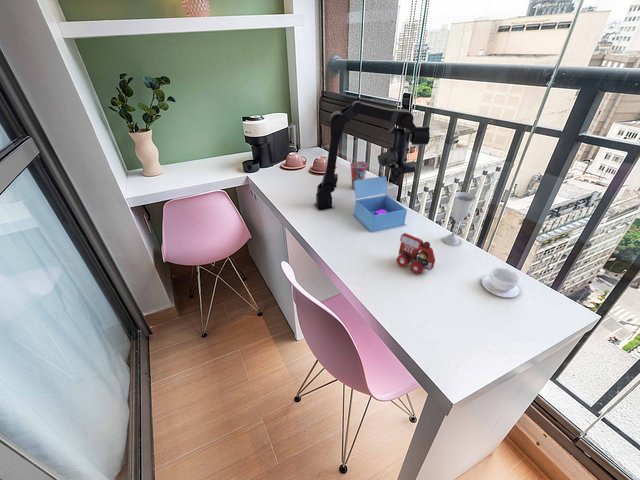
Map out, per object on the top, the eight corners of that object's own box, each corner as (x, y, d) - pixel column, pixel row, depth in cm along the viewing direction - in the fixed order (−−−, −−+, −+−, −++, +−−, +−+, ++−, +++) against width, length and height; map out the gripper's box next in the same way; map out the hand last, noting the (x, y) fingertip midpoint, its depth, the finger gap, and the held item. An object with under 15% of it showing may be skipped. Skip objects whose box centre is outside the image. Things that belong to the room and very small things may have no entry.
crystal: (385, 223, 124) (387, 213, 122) (372, 222, 126) (373, 212, 123) (386, 217, 128) (388, 207, 126) (373, 216, 130) (374, 206, 127)
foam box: (354, 215, 132) (355, 200, 128) (384, 209, 136) (387, 194, 132) (371, 231, 120) (373, 216, 116) (404, 225, 124) (407, 209, 120)
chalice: (446, 234, 118) (459, 190, 107) (464, 240, 114) (479, 195, 103) (438, 241, 113) (450, 196, 103) (456, 248, 109) (470, 202, 99)
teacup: (502, 302, 87) (508, 290, 84) (473, 282, 95) (478, 270, 92) (526, 292, 90) (533, 280, 87) (497, 273, 98) (502, 261, 95)
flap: (355, 198, 127) (355, 198, 128) (387, 193, 131) (386, 193, 131) (354, 180, 125) (354, 180, 126) (386, 175, 129) (385, 175, 129)
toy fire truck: (425, 278, 96) (432, 252, 90) (391, 262, 104) (396, 236, 98) (435, 269, 100) (443, 242, 94) (402, 254, 108) (407, 228, 102)
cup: (365, 191, 152) (367, 167, 145) (348, 190, 153) (349, 167, 146) (365, 184, 159) (368, 161, 152) (349, 183, 161) (351, 160, 154)
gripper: (370, 140, 127) (366, 176, 136) (394, 153, 112) (388, 193, 121) (394, 138, 129) (389, 173, 138) (420, 150, 115) (412, 189, 124)
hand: (393, 182), depth 131 cm, fingers closed
